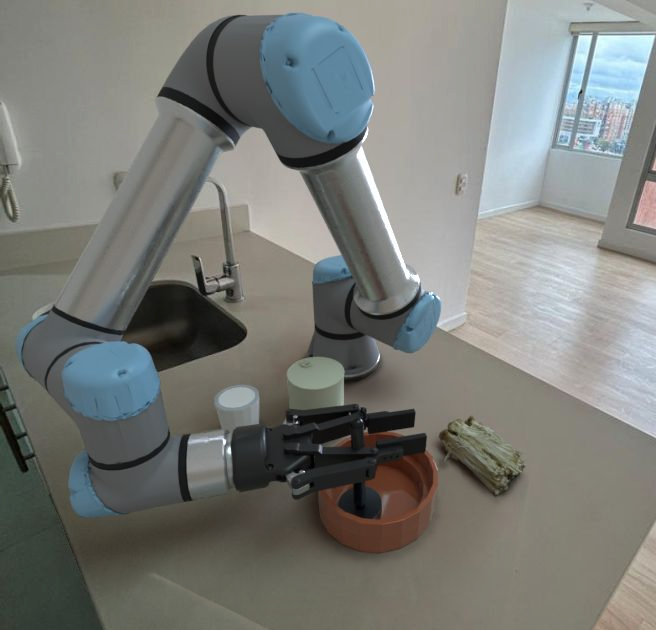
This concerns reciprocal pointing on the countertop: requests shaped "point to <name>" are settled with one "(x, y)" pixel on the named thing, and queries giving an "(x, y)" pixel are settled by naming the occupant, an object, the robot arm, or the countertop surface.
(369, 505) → the peg stand
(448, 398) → the countertop surface
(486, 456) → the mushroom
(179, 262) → the countertop surface
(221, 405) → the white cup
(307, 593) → the countertop surface
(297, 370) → the can
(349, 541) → the bowl
